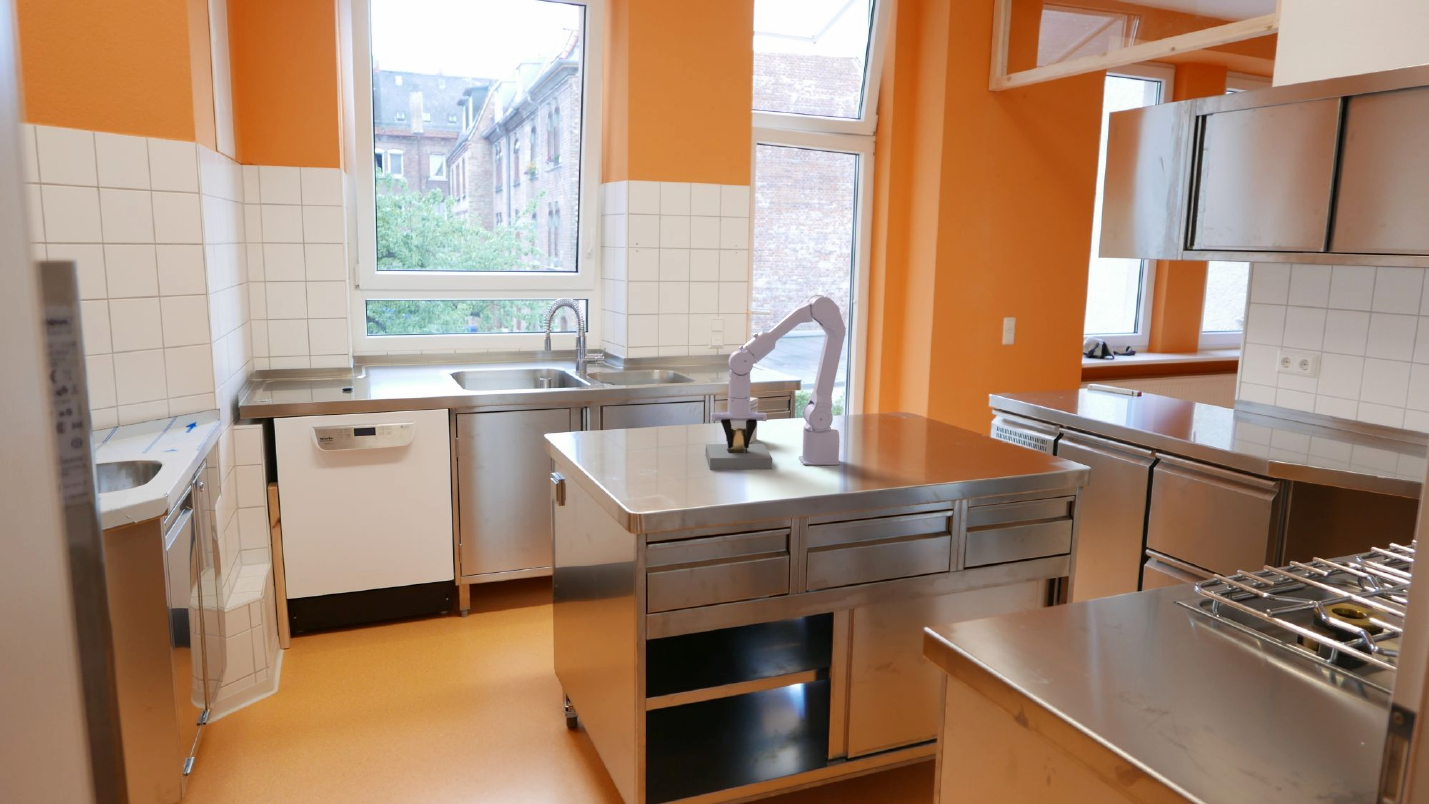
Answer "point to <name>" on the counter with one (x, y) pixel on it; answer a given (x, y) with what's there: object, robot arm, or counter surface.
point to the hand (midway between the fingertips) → (738, 447)
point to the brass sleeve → (738, 440)
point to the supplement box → (743, 423)
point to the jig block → (738, 457)
